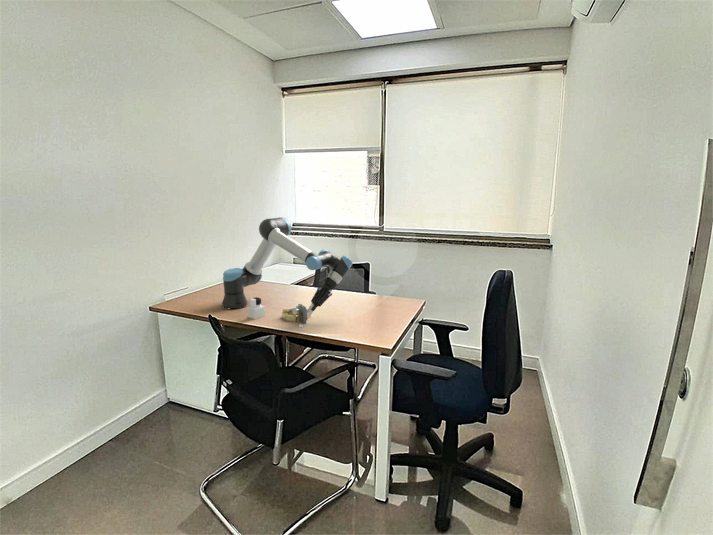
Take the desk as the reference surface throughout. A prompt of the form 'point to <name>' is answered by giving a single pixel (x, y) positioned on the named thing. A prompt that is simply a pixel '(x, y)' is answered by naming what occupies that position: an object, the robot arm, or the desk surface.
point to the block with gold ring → (294, 317)
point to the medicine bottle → (255, 308)
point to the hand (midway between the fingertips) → (307, 314)
